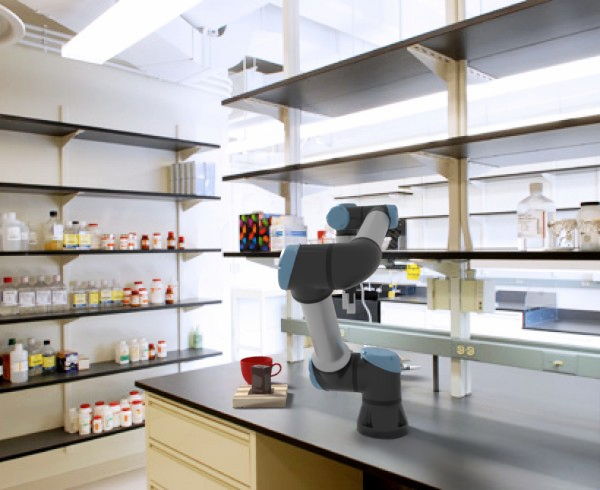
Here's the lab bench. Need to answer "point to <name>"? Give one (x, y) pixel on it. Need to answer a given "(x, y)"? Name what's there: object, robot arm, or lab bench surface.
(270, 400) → the shallow beige tray
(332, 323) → the robot arm
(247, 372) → the ceramic cup
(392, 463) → the lab bench surface
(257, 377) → the box
